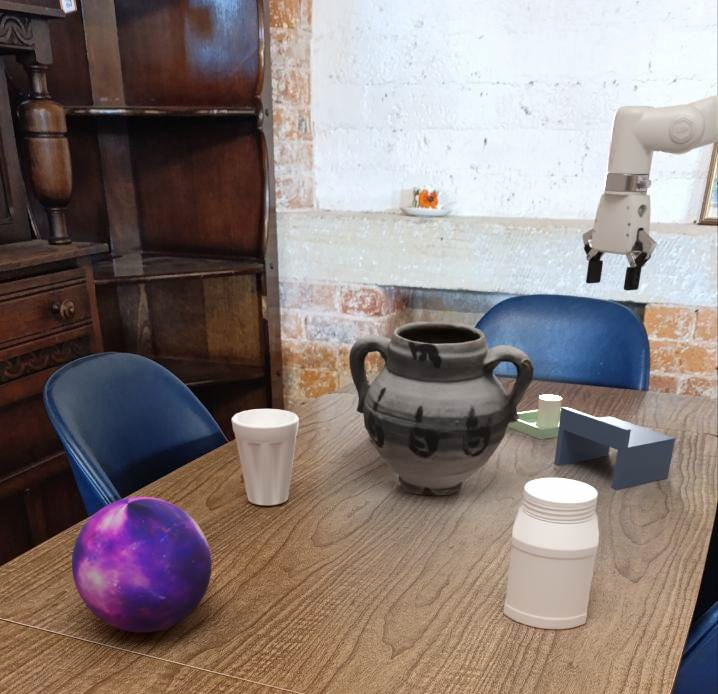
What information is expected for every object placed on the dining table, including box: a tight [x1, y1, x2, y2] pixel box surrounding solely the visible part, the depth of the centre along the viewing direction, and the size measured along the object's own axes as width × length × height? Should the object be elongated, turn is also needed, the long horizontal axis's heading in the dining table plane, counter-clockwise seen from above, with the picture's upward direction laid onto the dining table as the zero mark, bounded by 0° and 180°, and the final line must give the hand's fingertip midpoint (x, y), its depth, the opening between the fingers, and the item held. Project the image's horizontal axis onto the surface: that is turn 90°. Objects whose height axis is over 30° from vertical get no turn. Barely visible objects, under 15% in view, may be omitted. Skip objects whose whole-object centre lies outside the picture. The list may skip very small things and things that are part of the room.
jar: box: [502, 477, 600, 630], centre depth 103 cm, size 12×10×15 cm
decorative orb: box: [71, 496, 212, 633], centre depth 97 cm, size 15×15×15 cm
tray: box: [507, 409, 561, 440], centre depth 173 cm, size 13×11×2 cm
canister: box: [536, 394, 563, 428], centre depth 172 cm, size 4×4×6 cm
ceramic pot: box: [349, 321, 535, 496], centre depth 137 cm, size 29×23×25 cm
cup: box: [231, 408, 300, 506], centre depth 133 cm, size 10×10×13 cm
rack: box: [553, 406, 676, 491], centre depth 149 cm, size 12×15×10 cm
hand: (611, 286), depth 164 cm, fingers open, 9 cm apart
